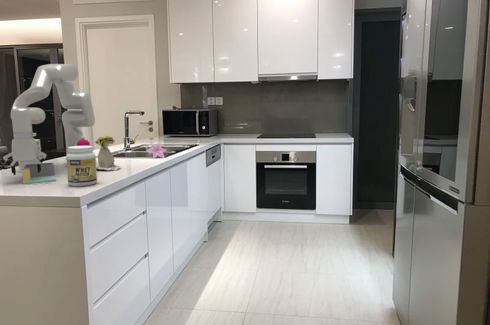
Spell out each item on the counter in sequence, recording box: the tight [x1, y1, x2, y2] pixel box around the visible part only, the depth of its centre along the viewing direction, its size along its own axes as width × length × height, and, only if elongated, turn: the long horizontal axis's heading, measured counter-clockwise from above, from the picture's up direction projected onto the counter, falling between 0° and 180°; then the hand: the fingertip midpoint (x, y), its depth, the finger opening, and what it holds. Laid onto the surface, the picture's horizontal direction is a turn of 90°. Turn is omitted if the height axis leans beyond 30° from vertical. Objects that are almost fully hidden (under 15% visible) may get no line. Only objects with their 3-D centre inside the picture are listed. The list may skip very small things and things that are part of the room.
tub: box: [24, 162, 56, 178], centre depth 198 cm, size 13×9×6 cm
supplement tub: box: [65, 145, 98, 187], centre depth 179 cm, size 12×12×17 cm
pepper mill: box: [77, 135, 91, 146], centre depth 197 cm, size 7×7×20 cm
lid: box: [21, 168, 57, 186], centre depth 184 cm, size 13×9×7 cm
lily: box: [146, 141, 167, 159], centre depth 260 cm, size 12×12×10 cm
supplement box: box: [17, 138, 43, 173], centre depth 211 cm, size 10×9×17 cm
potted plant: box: [94, 135, 121, 172], centre depth 216 cm, size 12×13×18 cm
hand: (26, 173), depth 182 cm, fingers open, 9 cm apart
